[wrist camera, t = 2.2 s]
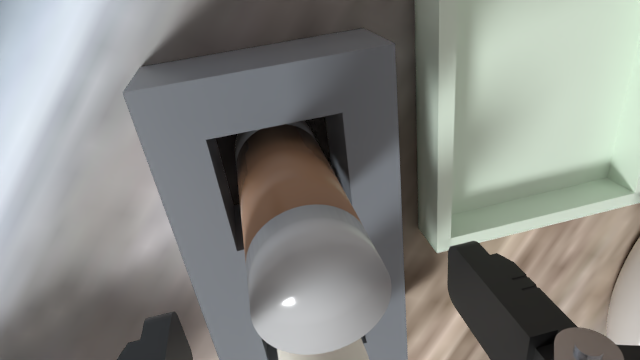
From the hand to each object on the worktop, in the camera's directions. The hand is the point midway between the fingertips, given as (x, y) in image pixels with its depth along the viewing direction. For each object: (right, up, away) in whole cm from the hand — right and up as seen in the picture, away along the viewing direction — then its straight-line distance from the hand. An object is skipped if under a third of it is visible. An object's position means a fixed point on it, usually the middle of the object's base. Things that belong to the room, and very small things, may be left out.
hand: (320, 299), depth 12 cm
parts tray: (+11, +9, +10) cm, 18 cm away
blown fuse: (-2, +5, +9) cm, 11 cm away
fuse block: (-2, +2, +11) cm, 11 cm away
